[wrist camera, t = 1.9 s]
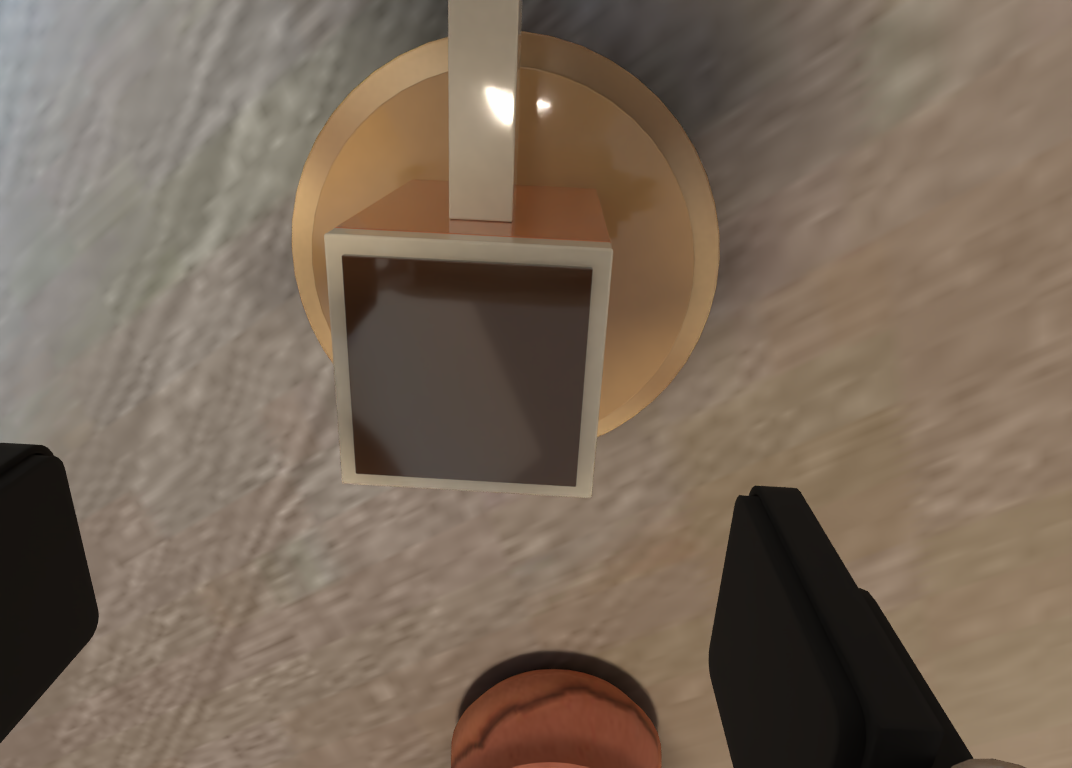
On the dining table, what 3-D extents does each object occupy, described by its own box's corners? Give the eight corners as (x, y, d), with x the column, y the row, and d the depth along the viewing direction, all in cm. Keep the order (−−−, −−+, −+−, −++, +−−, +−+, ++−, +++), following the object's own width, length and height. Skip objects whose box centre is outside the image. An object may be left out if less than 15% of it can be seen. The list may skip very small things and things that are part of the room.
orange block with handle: (668, 446, 27) (719, 628, 18) (330, 427, 27) (213, 596, 18) (732, -33, 21) (859, -122, 12) (292, -53, 21) (87, -154, 12)
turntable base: (400, -60, 22) (390, -69, 21) (796, 171, 24) (809, 176, 23) (250, 337, 28) (235, 349, 26) (585, 496, 30) (586, 514, 29)
